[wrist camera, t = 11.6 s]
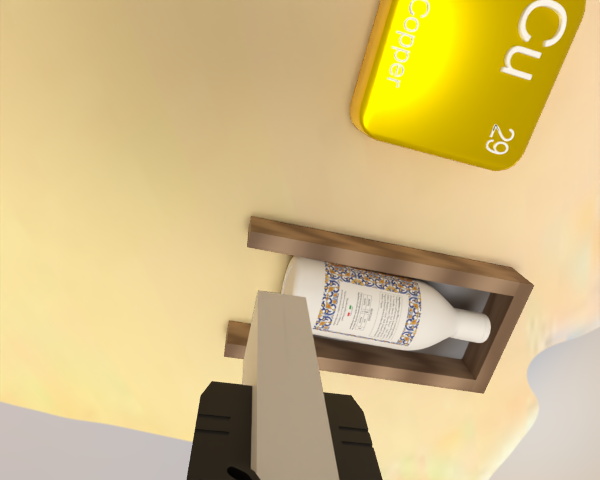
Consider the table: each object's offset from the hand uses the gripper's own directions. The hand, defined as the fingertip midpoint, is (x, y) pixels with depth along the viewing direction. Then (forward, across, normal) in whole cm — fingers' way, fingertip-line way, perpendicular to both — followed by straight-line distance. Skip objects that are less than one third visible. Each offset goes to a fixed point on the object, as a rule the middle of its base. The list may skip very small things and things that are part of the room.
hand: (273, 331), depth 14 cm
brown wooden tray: (+28, +14, -14) cm, 33 cm away
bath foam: (+24, +4, -12) cm, 27 cm away
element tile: (+29, +14, +10) cm, 34 cm away
